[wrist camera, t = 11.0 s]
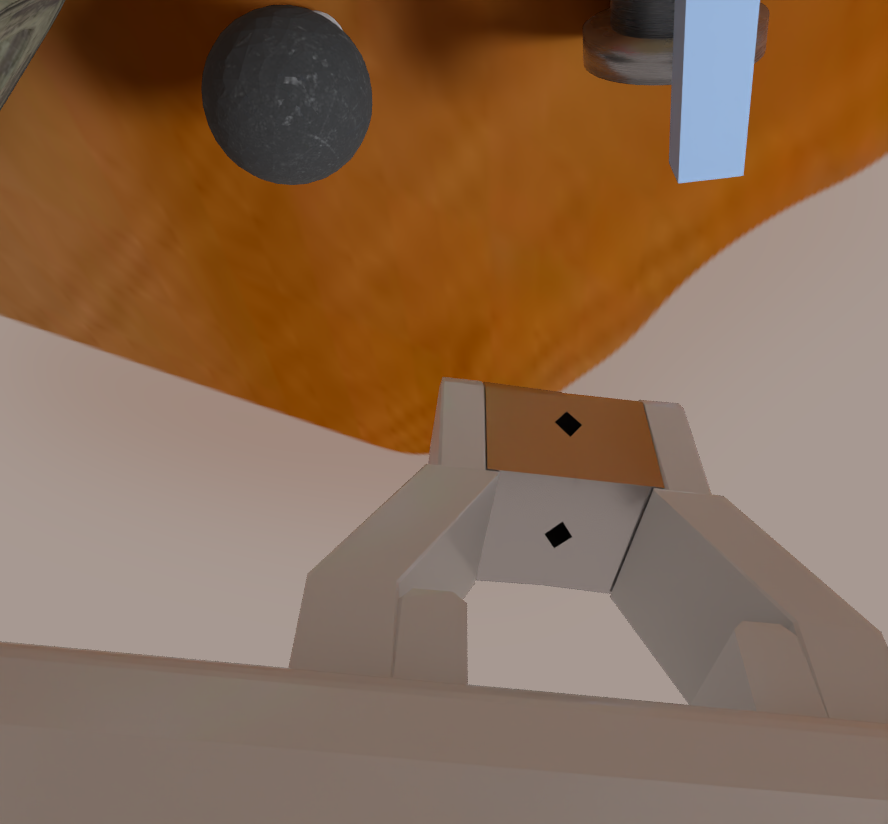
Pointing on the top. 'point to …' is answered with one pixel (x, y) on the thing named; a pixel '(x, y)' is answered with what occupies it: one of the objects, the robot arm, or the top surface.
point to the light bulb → (287, 94)
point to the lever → (711, 87)
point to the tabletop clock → (22, 37)
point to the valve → (641, 41)
